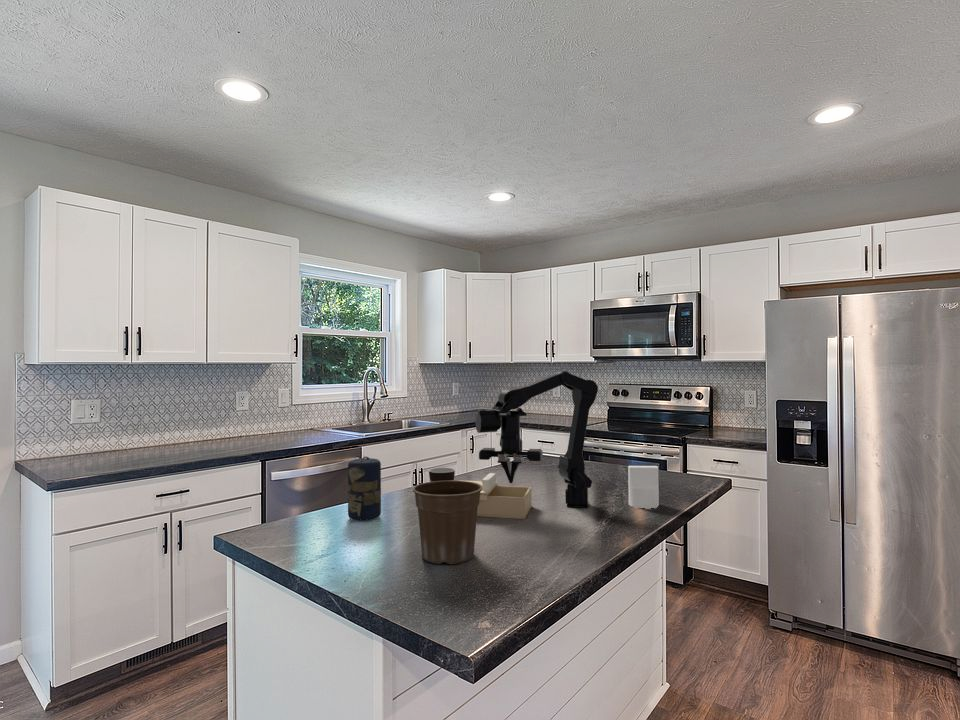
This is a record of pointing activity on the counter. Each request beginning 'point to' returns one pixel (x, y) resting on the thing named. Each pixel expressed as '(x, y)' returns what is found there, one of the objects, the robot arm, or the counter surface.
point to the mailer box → (506, 502)
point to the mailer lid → (486, 485)
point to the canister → (364, 489)
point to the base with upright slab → (643, 486)
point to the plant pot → (447, 519)
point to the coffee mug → (441, 474)
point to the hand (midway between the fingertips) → (511, 482)
